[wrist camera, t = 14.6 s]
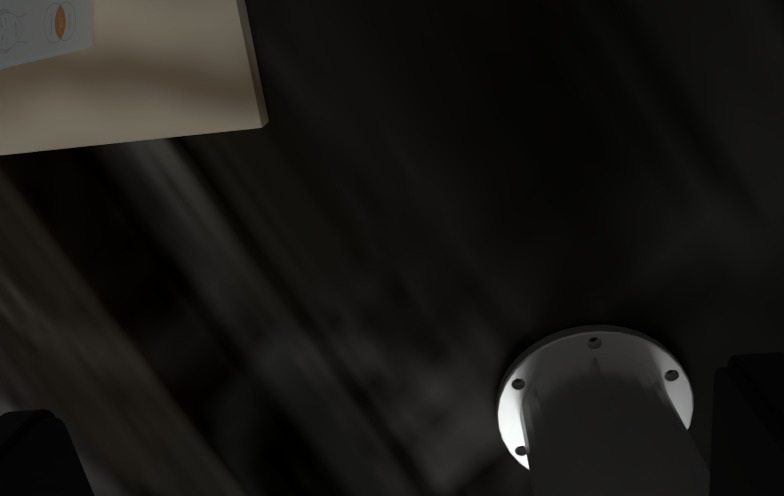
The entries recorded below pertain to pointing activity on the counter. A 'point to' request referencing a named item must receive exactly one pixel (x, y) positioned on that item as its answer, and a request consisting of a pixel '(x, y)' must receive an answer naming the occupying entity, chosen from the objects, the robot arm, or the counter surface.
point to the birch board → (138, 79)
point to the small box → (43, 29)
